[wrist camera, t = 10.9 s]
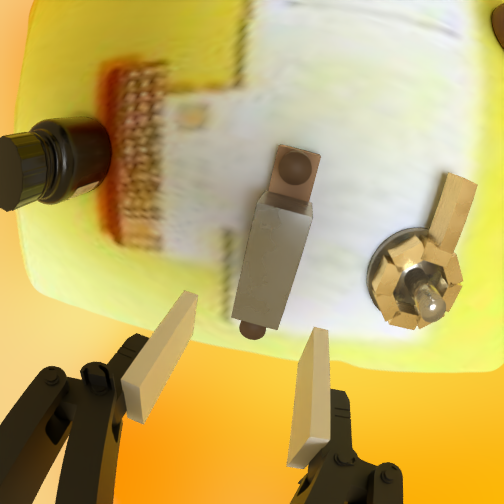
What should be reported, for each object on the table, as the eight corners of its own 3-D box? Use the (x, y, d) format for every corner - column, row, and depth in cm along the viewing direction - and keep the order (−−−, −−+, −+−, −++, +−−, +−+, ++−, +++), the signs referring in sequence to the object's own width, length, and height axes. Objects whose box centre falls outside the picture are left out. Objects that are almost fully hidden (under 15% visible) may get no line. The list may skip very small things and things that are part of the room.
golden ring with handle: (360, 307, 29) (364, 325, 26) (415, 157, 22) (428, 161, 19) (430, 323, 28) (438, 341, 25) (487, 191, 21) (504, 199, 19)
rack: (243, 303, 32) (231, 334, 27) (281, 144, 25) (275, 147, 20) (274, 311, 32) (267, 344, 27) (319, 154, 25) (322, 159, 20)
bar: (282, 301, 28) (277, 330, 24) (242, 291, 29) (231, 317, 25) (311, 202, 24) (312, 217, 20) (265, 190, 25) (256, 202, 21)
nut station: (352, 303, 30) (361, 345, 24) (387, 214, 26) (410, 240, 19) (428, 321, 29) (447, 361, 23) (465, 243, 25) (498, 273, 19)
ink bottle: (52, 175, 31) (-21, 201, 20) (66, 108, 27) (-13, 115, 16) (105, 203, 31) (29, 240, 20) (125, 129, 27) (40, 138, 16)
